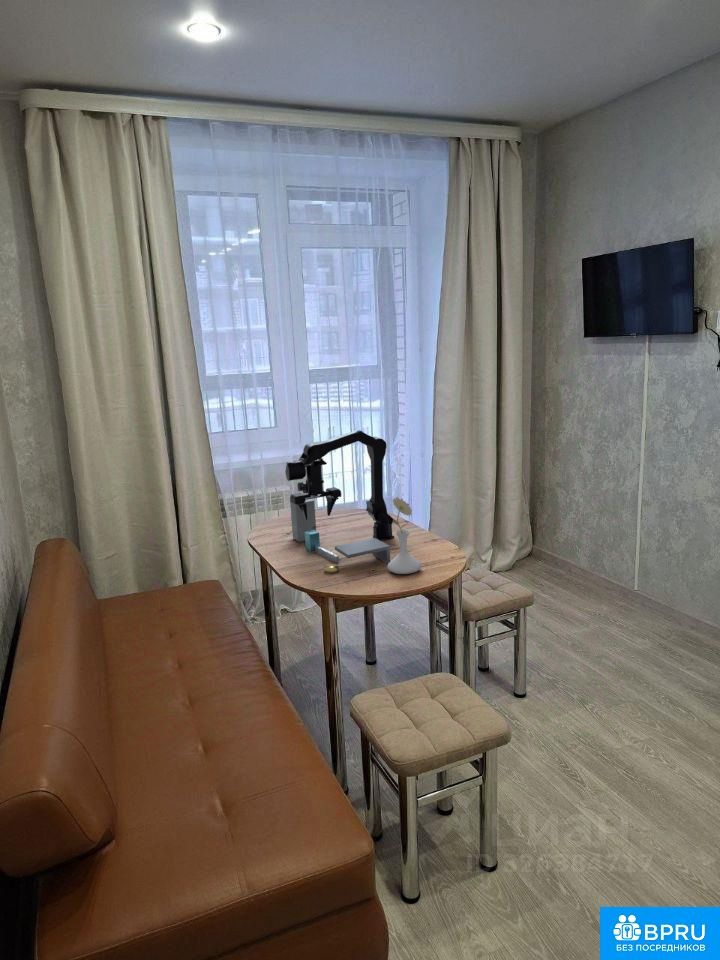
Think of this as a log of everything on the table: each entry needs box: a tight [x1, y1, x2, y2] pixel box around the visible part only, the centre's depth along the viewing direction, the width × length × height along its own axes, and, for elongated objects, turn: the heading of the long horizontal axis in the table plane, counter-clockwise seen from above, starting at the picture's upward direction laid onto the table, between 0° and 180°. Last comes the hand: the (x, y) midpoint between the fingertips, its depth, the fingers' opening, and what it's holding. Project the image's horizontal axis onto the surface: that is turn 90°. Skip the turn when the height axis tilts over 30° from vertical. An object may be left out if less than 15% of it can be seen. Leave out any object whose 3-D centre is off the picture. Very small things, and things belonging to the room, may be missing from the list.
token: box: [323, 563, 340, 575], centre depth 225 cm, size 5×5×2 cm
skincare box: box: [289, 499, 317, 543], centre depth 262 cm, size 8×7×16 cm
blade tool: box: [304, 530, 340, 564], centre depth 241 cm, size 4×20×7 cm, turn 32°
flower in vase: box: [387, 496, 422, 575], centre depth 219 cm, size 13×11×25 cm
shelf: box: [334, 537, 391, 564], centre depth 231 cm, size 16×11×6 cm
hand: (317, 517), depth 248 cm, fingers open, 9 cm apart
